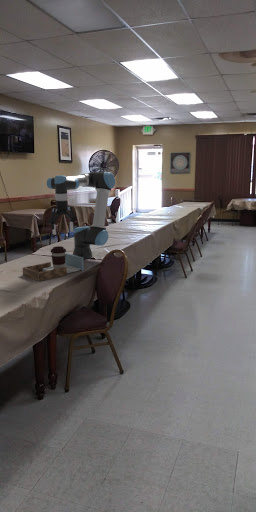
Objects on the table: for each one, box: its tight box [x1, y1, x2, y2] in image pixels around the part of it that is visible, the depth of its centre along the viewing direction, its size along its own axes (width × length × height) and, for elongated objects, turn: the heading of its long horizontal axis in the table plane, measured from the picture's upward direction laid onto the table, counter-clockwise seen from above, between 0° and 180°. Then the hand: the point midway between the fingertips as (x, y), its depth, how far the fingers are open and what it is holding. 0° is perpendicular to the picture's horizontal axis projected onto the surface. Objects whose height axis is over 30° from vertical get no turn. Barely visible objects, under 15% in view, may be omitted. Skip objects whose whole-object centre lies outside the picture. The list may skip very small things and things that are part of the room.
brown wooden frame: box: [22, 261, 68, 282], centre depth 250 cm, size 20×19×5 cm
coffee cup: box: [50, 246, 67, 269], centre depth 256 cm, size 10×10×15 cm
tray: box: [42, 252, 85, 274], centre depth 258 cm, size 21×19×9 cm
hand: (63, 233), depth 255 cm, fingers open, 13 cm apart
